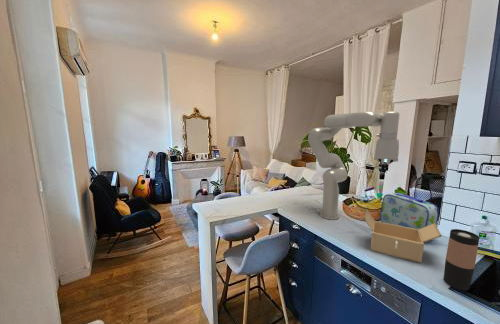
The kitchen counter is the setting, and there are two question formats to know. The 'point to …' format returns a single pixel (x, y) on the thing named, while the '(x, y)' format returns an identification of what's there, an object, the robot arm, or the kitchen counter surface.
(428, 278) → the kitchen counter surface
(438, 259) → the kitchen counter surface
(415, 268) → the kitchen counter surface
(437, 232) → the right flap
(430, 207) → the lunch box
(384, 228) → the carton
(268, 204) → the kitchen counter surface
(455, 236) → the travel mug
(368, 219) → the left flap
